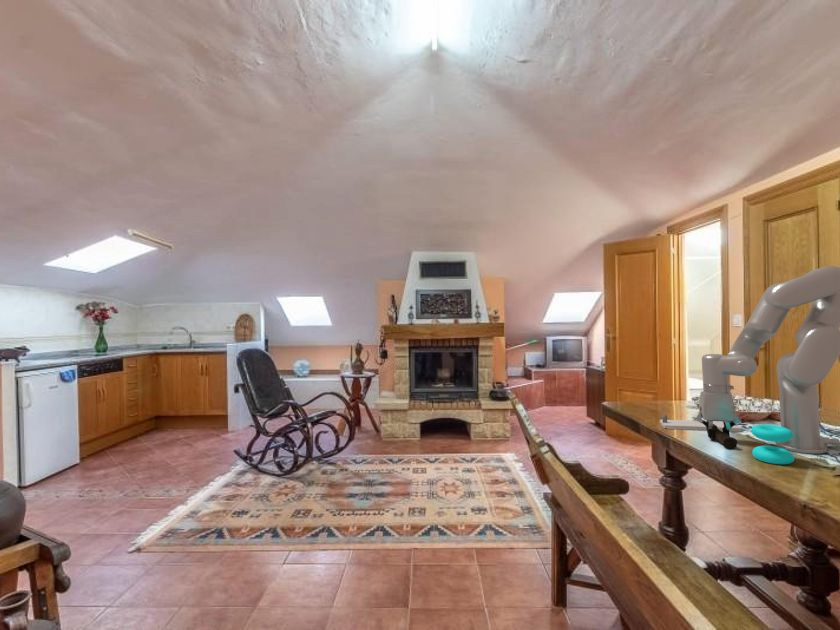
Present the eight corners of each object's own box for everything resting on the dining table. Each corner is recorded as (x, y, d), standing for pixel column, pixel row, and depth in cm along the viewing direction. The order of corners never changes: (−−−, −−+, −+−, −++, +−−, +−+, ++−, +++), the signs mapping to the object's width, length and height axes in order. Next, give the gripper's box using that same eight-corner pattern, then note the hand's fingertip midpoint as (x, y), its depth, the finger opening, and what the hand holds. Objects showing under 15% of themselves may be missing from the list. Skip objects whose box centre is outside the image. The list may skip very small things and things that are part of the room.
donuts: (801, 433, 122) (761, 432, 124) (802, 466, 122) (763, 465, 124) (781, 423, 131) (744, 423, 134) (782, 455, 131) (746, 453, 134)
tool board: (732, 425, 164) (732, 414, 164) (741, 432, 156) (741, 420, 156) (659, 423, 173) (659, 412, 173) (664, 428, 164) (664, 417, 164)
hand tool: (738, 449, 138) (737, 435, 138) (724, 449, 139) (723, 435, 139) (716, 433, 156) (715, 421, 156) (703, 433, 157) (703, 420, 157)
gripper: (739, 387, 149) (742, 437, 148) (686, 386, 154) (689, 435, 154) (748, 390, 141) (751, 444, 141) (692, 390, 147) (695, 441, 147)
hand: (718, 439), depth 148 cm, fingers closed on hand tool, 3 cm apart
